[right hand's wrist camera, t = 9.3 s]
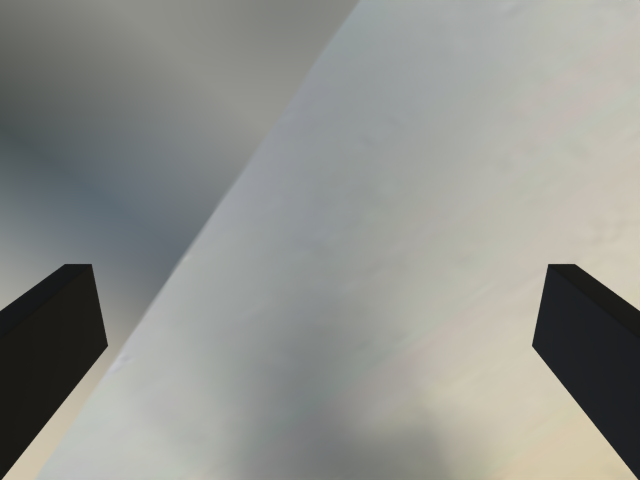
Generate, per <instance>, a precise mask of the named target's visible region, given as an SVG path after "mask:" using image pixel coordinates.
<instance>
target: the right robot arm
mask: <svg viewBox="0 0 640 480" xmlns="http://www.w3.org/2000/svg"><path fill="white" fill-rule="evenodd" d="M107 347H108V343H107V338H106V333H105V328H104V323H103V318H102V313H101V309H100V303H99V298H98V293H97V289H96V284H95V278H94V274H93V269H92V264H64V265H63V266H62V267H60V268H59V269H58V270H56V271H55V272H53V273H52V274H51V275H49V276H48V277H47V278H45V279H44V280H42V281H41V282H40V283H38V284H37V285H36V286H34V287H33V288H31V289H30V290H29V291H27V292H26V293H24V294H23V295H22V296H20V297H19V298H18V299H16V300H15V301H13V302H12V303H11V304H9V305H8V306H7V307H5V308H4V309H2V310H1V311H0V480H2V479H3V477H4V476H5V475H6V474H7V472H8V471H9V470H10V469H11V467H12V466H13V465H14V463H15V462H16V461H17V460H18V459H19V457H20V456H21V455H22V453H23V452H24V451H25V450H26V448H27V447H28V446H29V445H30V443H31V442H32V441H33V440H34V438H35V437H36V436H37V435H38V433H39V432H40V431H41V430H42V428H43V427H44V426H45V425H46V423H47V422H48V421H49V419H50V418H51V417H52V416H53V414H54V413H55V412H56V411H57V409H58V408H59V407H60V406H61V404H62V403H63V402H64V401H65V399H66V398H67V397H68V396H69V394H70V393H71V392H72V391H73V389H74V388H75V387H76V386H77V384H78V383H79V382H80V380H81V379H82V378H83V377H84V375H85V374H86V373H87V372H88V370H89V369H90V368H91V367H92V365H93V364H94V363H95V362H96V360H97V359H98V358H99V356H100V355H101V354H102V353H103V352H104V350H105V349H106V348H107ZM532 347H533V348H534V349H535V350H536V352H537V353H538V354H539V355H540V357H541V358H542V359H543V360H544V362H545V363H546V364H547V365H548V367H549V368H550V369H551V370H552V372H553V373H554V374H555V375H556V377H557V378H558V379H559V380H560V382H561V383H562V384H563V386H564V387H565V388H566V389H567V391H568V392H569V393H570V394H571V396H572V397H573V398H574V399H575V401H576V402H577V403H578V404H579V406H580V407H581V408H582V409H583V411H584V412H585V413H586V414H587V416H588V417H589V418H590V420H591V421H592V422H593V423H594V425H595V426H596V427H597V428H598V430H599V431H600V432H601V433H602V435H603V436H604V437H605V438H606V440H607V441H608V442H609V443H610V445H611V446H612V447H613V448H614V450H615V451H616V452H617V453H618V455H619V456H620V457H621V459H622V460H623V461H624V462H625V464H626V465H627V466H628V467H629V469H630V470H631V471H632V472H633V474H634V475H635V476H636V477H637V479H638V480H640V311H639V310H638V309H636V308H635V307H633V306H632V305H631V304H629V303H628V302H627V301H625V300H624V299H622V298H621V297H620V296H618V295H617V294H616V293H614V292H613V291H611V290H610V289H609V288H607V287H606V286H604V285H603V284H602V283H600V282H599V281H598V280H596V279H595V278H593V277H592V276H591V275H589V274H588V273H587V272H585V271H584V270H582V269H581V268H580V267H578V266H577V265H576V264H548V269H547V273H546V278H545V283H544V288H543V293H542V298H541V303H540V308H539V313H538V318H537V323H536V328H535V333H534V338H533V343H532Z"/></svg>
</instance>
